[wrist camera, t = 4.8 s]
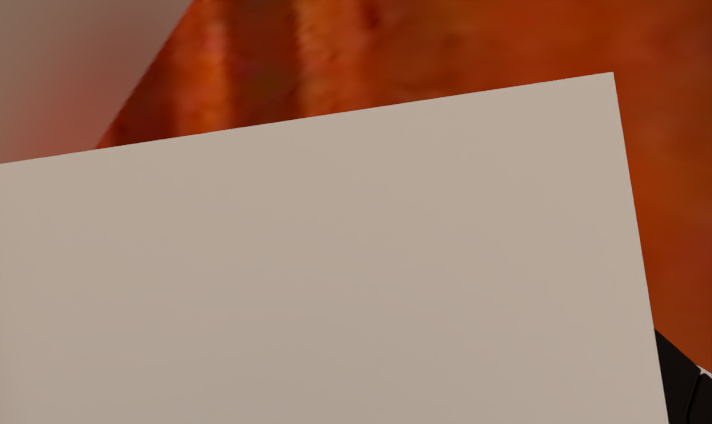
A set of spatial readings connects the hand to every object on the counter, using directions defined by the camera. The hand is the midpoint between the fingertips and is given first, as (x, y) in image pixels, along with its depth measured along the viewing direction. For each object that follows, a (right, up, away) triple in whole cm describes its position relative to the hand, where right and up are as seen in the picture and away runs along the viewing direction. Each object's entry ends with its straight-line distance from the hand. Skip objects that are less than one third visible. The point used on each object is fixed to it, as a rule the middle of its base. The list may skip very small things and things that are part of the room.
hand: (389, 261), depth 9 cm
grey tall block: (+2, -2, +7) cm, 7 cm away
